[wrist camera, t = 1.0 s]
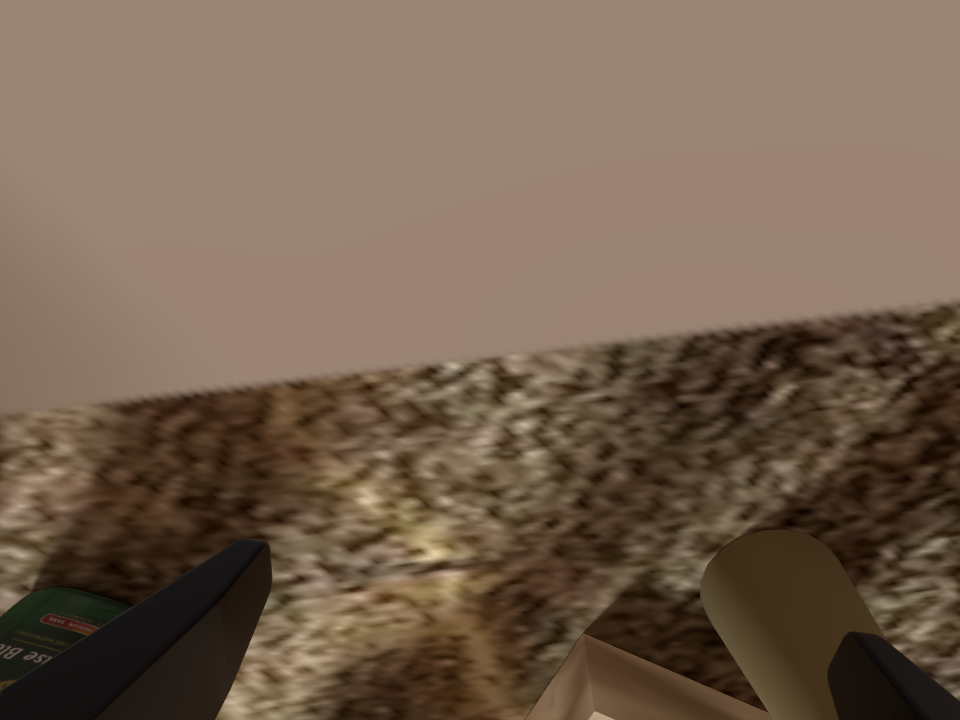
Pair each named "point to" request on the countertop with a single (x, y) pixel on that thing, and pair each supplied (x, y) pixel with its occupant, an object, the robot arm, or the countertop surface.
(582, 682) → the socket board
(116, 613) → the coffee jar
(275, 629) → the countertop surface
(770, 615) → the cork
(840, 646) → the robot arm
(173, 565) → the countertop surface
